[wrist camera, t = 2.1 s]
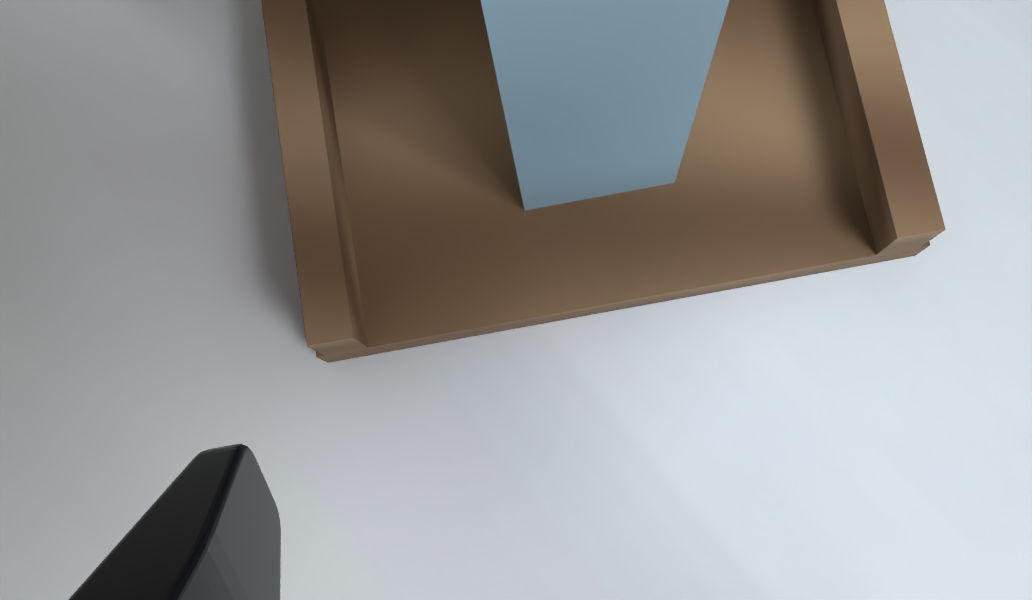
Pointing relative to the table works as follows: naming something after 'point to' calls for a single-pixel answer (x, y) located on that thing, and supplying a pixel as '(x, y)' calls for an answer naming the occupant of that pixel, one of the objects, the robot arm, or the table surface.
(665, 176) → the light blue block
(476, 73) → the tray
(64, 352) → the table surface
